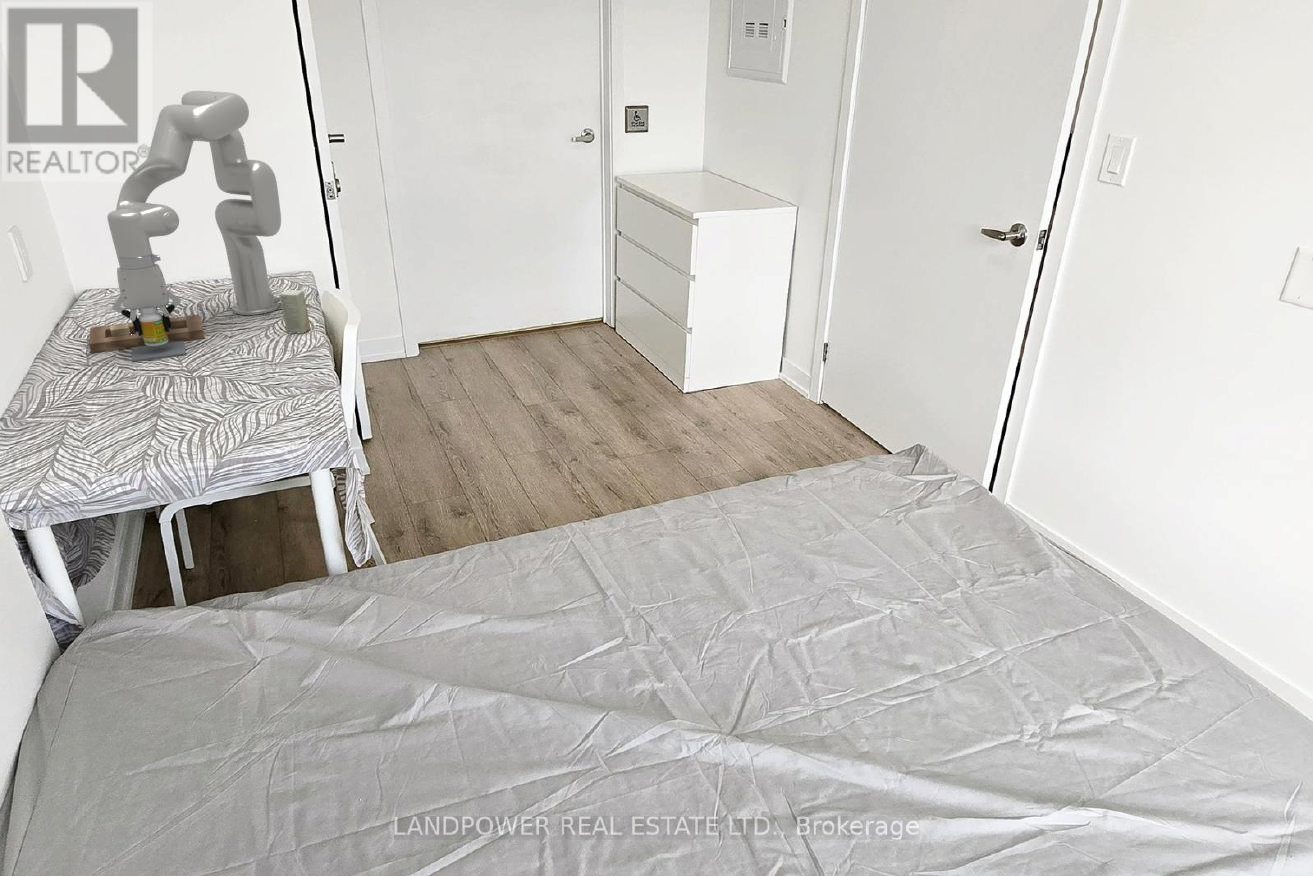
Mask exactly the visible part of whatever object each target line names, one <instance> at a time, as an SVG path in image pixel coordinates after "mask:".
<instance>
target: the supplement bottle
mask: <svg viewBox="0 0 1313 876" xmlns="http://www.w3.org/2000/svg"><path fill="white" fill-rule="evenodd" d="M138 310H139V313H140V315H138V316H137V318H138V319H139V323H140V327H141V331H142V335H143V339H144V343H145V344H146V345H148V346H158V345H163V344H165V343H167V342H168V336H167V332H166V329H165V325H164V321H163V316H162V315H163V313H161V312H159V309H158V307H151V308H143V309H138Z"/></svg>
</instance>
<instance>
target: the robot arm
mask: <svg viewBox="0 0 1313 876" xmlns="http://www.w3.org/2000/svg"><path fill="white" fill-rule="evenodd" d="M180 103H181V104H168V105H165V106H163V108H162V109H161V110H160V112H159V114H158V118H157V122H156V124H155V128H154V133H153V136H152V140H151V144H150V146H149V150H148V155H147V157H146V159H145V160H144V161H143V162H142V163H141V164H140V165H138V166H137V168H136V169H135V170H133V172H132V173H131V174H130V175H129V176H128V177H127V178H126V179H125V181H124V183H123V184H122V187H121V189H120V191H119V194H118V195H119V196H118V199H117V202H116V209H115V210H111V211H110V212H109V213H108V214H107V224H108V226H109V230H110V234H111V238H112V242H113V245H114V249H115V255H116V258H117V261H118V267H117V268H116V275H117V285H118V290H119V296H118V297H117V298H116V301H115V302H114V303H113V305H112V307H111V309H112V310H113V311H115V312H117V313H119V314H121V315H123V316H124V317H126V318H127V319H128V320H130V321H131V323H133V326H134V330H135V332H138V334H139V336H141V335H142V331H141V327H140V323H139V319H138V315H137V314H138V313H137V311H138V310H139V309H143V308H151V307H157V308H158V307H159V310H160V312H162V316H163V321H164V325H165V329H166V332H169V328H172V327H171V322H170V318H171V317H170V315H172V312H173V311H174V310H175V309H176V308H177V307H178V306H179V304H181V303H182V300H181V298H180V297H179V296H177V295H175V293H173V292H171V291H170V290H169V289H168V288H167V284H166V281H165V277H164V275H163V272H162V269H161V267H160V265H159V263H157V262H159V261H162V259H161V255H160V254H157V255H156V254H154V253H153V250H152V246H151V243H150V238H155V237H156V238H157V237H164V236H169V235H171V234H173V233H175V231H176V230H177V229H178V228H179V225H180V219H179V217H180V216H179V215H178V213H177V211H175V210H174V209H173V208H172V207H170V206H168V205H165V204H158V203H151V202H150V203H149V202H147V200H148V198H149V196H151V194H152V193H153V191H154V190H156V189H157V188H159V187H160V186H161V185H164V184H166V183H167V182H168V183H169V182H170V181H173V180H175V179H177V178H179V177H181V176H182V175H184V174H185V172H186V170H187V166H188V163H189V159H190V155H191V151H192V148H193V144H194V142H205V143H207V142H208V143H209V147H210V148H209V149H210V152H211V158H212V164H213V170H214V176H215V177H214V178H215V181H216V184H217V187H218V189H219V190H221V191H222V192H224V193H227V194H230V195H238V196H239V195H240V196H250V198H251V200H250V199H244V198H243V199H241V198H228V199H224V200H222V201H220V202H219V203H218V204H217V205H216V208H215V211H214V216H215V221H216V224H217V227H218V229H219V231H220V234H221V236H222V240H223V243H224V246H225V251H226V255H227V261H228V267H229V271H230V275H231V281H232V286H233V290H234V291H233V292H234V295H235V296H234V297H235V301H236V302H235V303H234V304H233V305H232V306H231V311H232V312H233V313H234V314H237V315H243V316H255V315H263V313H264V314H268V313H272V312H273V311H276V310H277V309H278V308H279V307H280V304H279V301H280V296H279V294H281V293H282V292H278V293H274V292H272V290H271V286H270V282H269V281H270V280H269V277H268V276H269V275H268V270H267V266H266V265H267V264H266V259H265V252H264V248H263V245H262V243H261V241H260V239H259V238H258V237H268V238H269V237H273V236H275V235H277V234H278V232H279V231H280V229H281V224H282V214H281V205H280V197H279V190H278V189H279V187H278V181H277V177H276V175H275V172H274V170H273V169H272V167H271V166H270V165H269V164H268V163H266V162H264V161H263V160H258V159H249V158H248V156H247V152H246V151H247V150H246V147H245V142H244V138H243V134H242V133H241V131H240V129H241V128H242V127H244V125H246V124H247V122H248V120H249V114H250V112H249V105H248V103H247V101H246V100H245V99H244V98H243V97H242V96H241V95H239V94H237V93H234V92H226V91H213V90H212V91H211V90H191V91H188V92H185V93H184V94H183V95H182V97H181V102H180ZM170 300H171V301H172V302H171V303H170ZM280 302H281V301H280ZM122 304H123V307H124V308H123V307H122ZM167 305H168V306H167ZM129 310H130V311H129ZM267 312H268V313H267Z"/></svg>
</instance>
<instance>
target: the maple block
mask: <svg viewBox="0 0 1313 876" xmlns="http://www.w3.org/2000/svg"><path fill="white" fill-rule="evenodd" d="M119 324H120V325H115V324H110V325H111V327H110V331H111V334H112V337H116V336H124V335H131V333H130V329H129V325H128V324H124V323H119Z"/></svg>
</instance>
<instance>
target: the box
mask: <svg viewBox="0 0 1313 876" xmlns="http://www.w3.org/2000/svg"><path fill="white" fill-rule="evenodd" d="M280 293H281V294H279V296H280V304H281V310H282V314H283V319H284V324H285V330H286V333H287V332H300V333H299V334H303V333H304V332H305V333H306V331H307V330H308V331H309V330H311V329H310V328H311V323H310V319H309V314H308V309H307V303H306V297H305V292H304V290H297V289H296V290H295V289H294V290H293V289H286V290H284V291H282V292H280ZM308 331H307V332H308ZM305 333H304V334H305Z"/></svg>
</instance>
